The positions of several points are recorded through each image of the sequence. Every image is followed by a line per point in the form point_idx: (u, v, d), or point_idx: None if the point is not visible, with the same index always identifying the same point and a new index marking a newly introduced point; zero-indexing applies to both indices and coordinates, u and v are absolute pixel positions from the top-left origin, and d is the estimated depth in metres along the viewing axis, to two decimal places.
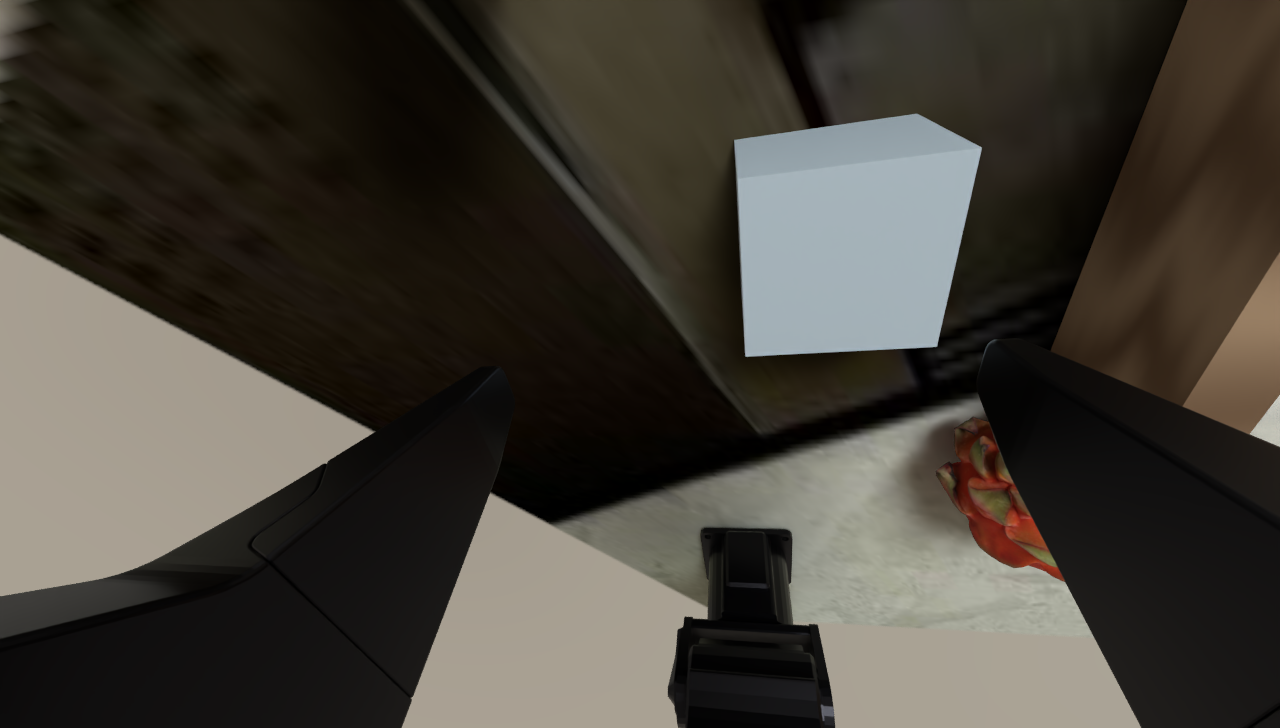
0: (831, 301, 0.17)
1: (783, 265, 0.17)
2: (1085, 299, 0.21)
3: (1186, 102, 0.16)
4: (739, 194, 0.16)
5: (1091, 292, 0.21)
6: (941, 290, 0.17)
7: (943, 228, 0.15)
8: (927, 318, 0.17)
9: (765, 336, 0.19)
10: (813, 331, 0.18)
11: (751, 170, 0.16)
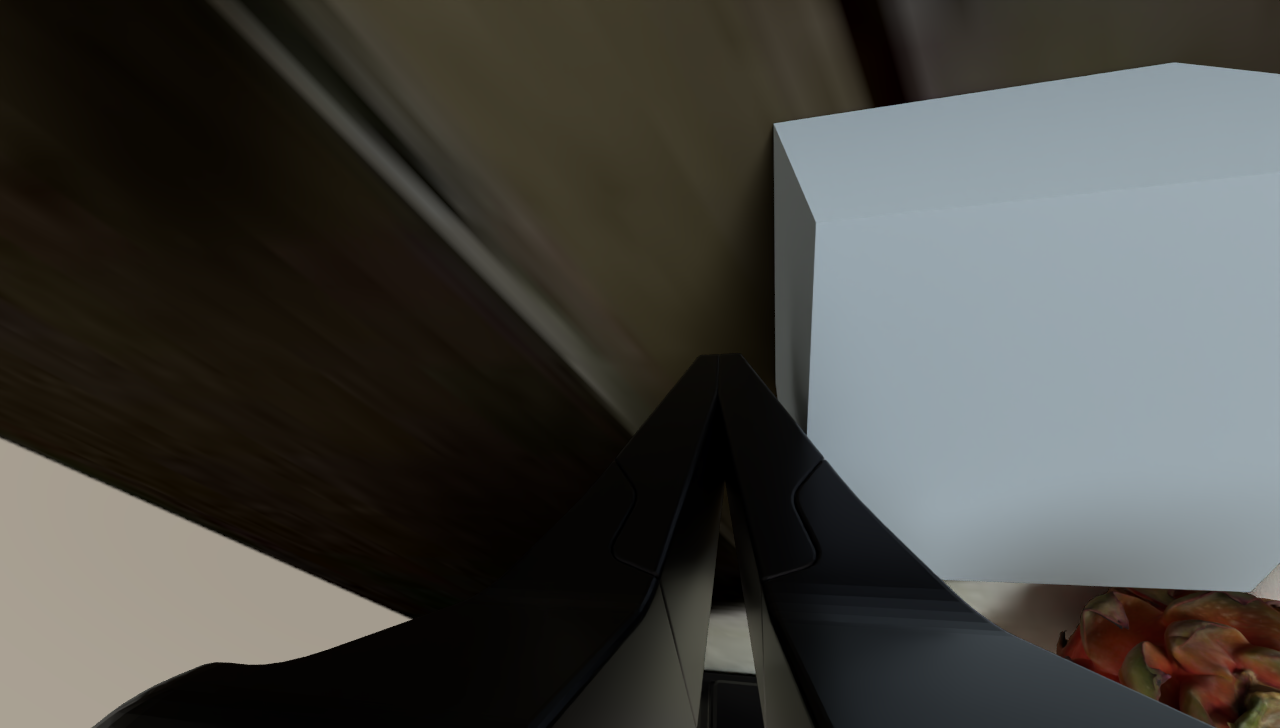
0: (1018, 500, 0.07)
1: (914, 427, 0.07)
2: None
3: None
4: (818, 263, 0.06)
5: None
6: None
7: None
8: (1253, 544, 0.07)
9: None
10: (960, 547, 0.08)
11: (847, 195, 0.06)
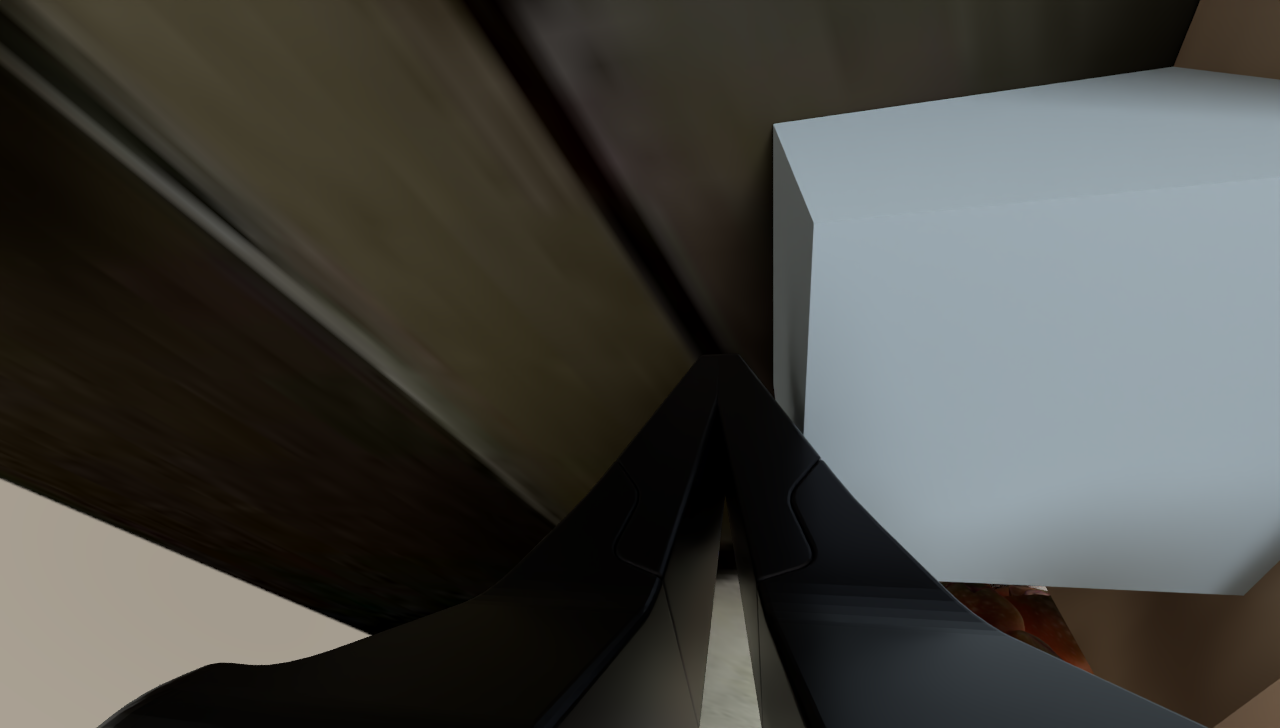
0: (1013, 502, 0.07)
1: (910, 429, 0.07)
2: None
3: None
4: (815, 264, 0.06)
5: None
6: None
7: None
8: (1247, 548, 0.07)
9: None
10: (955, 549, 0.08)
11: (845, 196, 0.06)
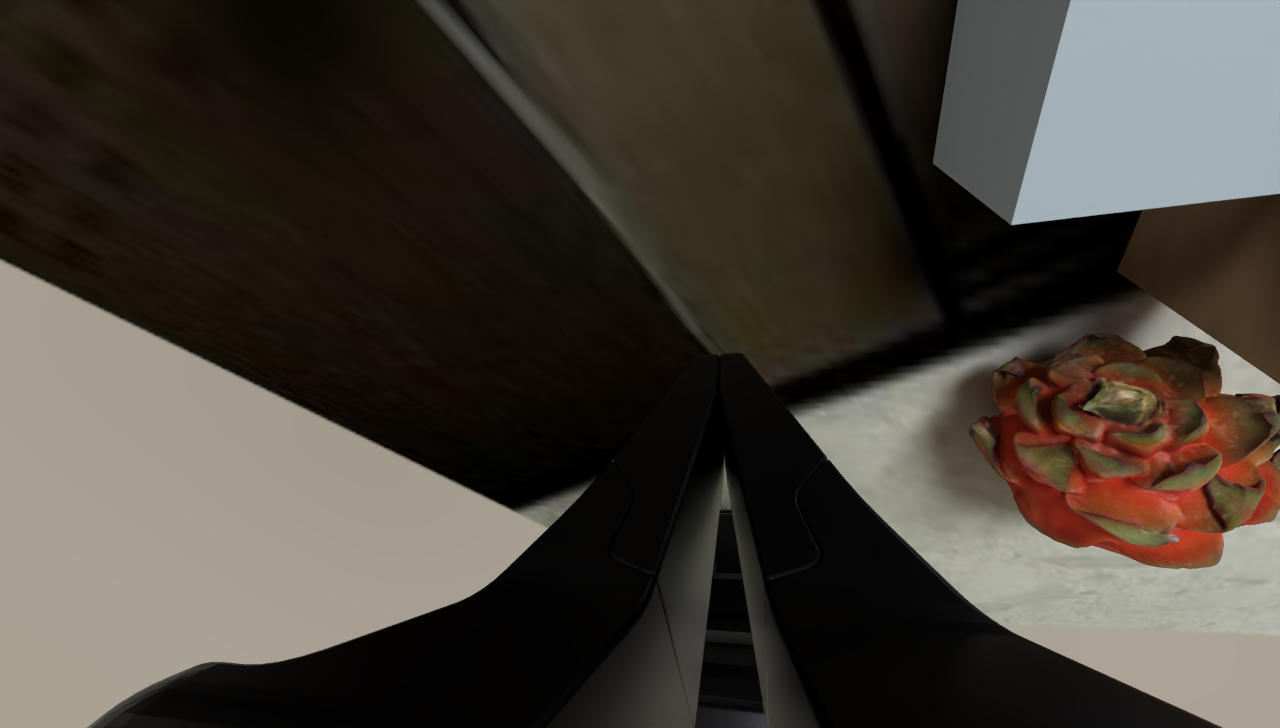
0: (1205, 104, 0.10)
1: (1140, 35, 0.10)
2: None
3: None
4: None
5: None
6: None
7: None
8: None
9: (1058, 184, 0.12)
10: (1149, 168, 0.11)
11: None
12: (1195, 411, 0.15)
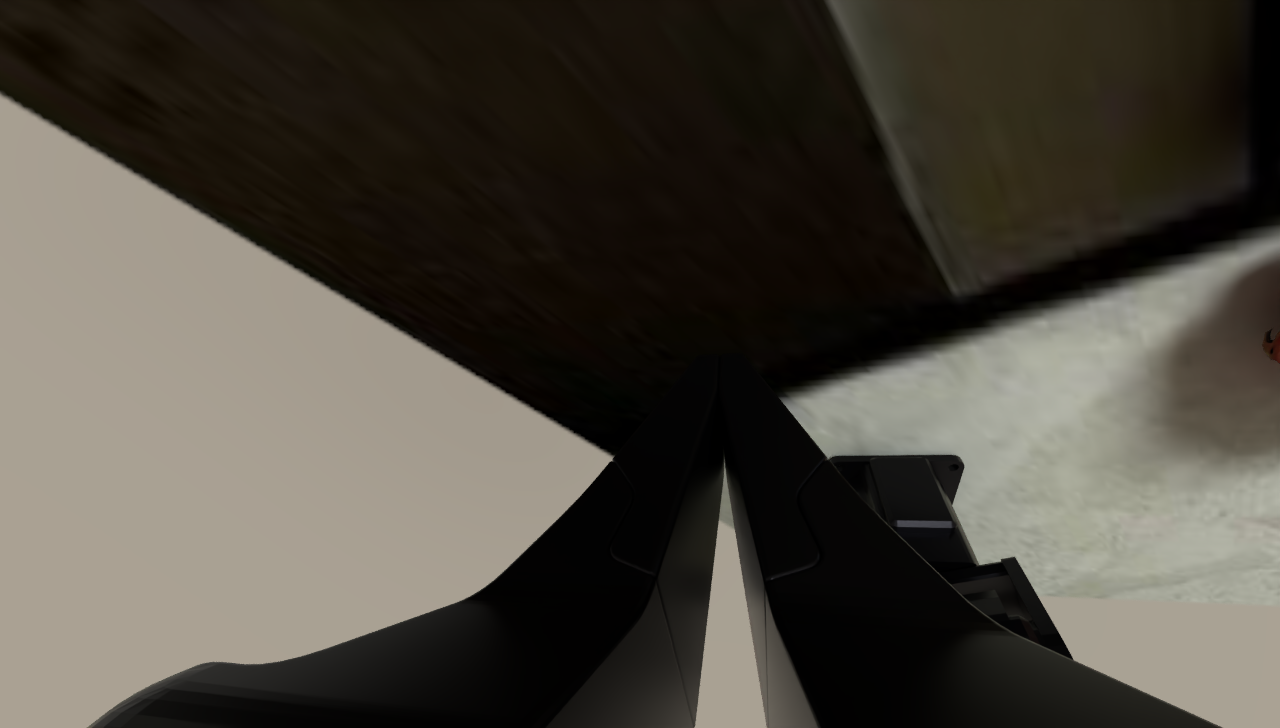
0: None
1: None
2: None
3: None
4: None
5: None
6: None
7: None
8: None
9: None
10: None
11: None
12: None
